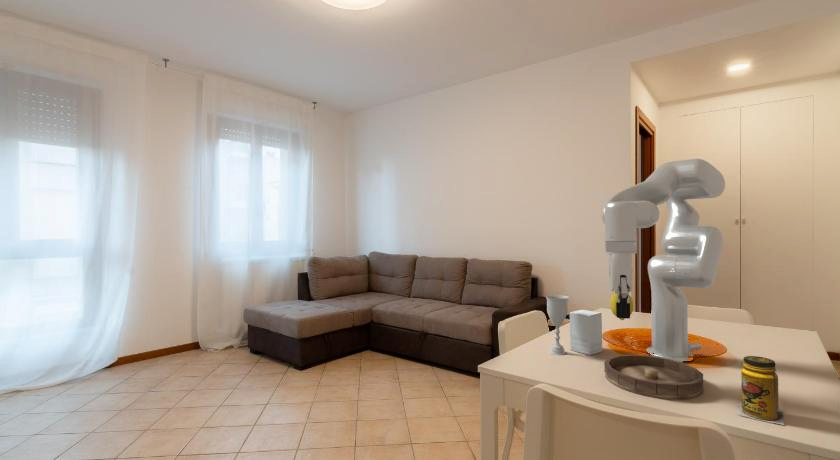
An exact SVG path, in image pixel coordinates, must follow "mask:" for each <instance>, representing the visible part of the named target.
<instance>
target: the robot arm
mask: <svg viewBox="0 0 840 460" xmlns="http://www.w3.org/2000/svg"><path fill="white" fill-rule="evenodd" d="M725 190H726V180H725V178H724V175H723V174H722V172H721V171H720V170H718V168H716V167H715V166H714V165H713V164H712V163H710V162H709V161H707V160H704V159H701V158H691V159H690V158H689V159H684V160H683V159H681V160H674V161H673V160H672V161H667V162H663V163H662V164H660V165H659V166H658V167H657V168H656V169H655V170H654V171H653V172H652V173H651V174H649V176H648V177H647V178H646V179H645V180H644V181H642V182H639V183H636V184H634V185H633V186H630V187H628V188H625V189H623V190H621V191H619V192H617V193H615V194H614V195H612V197H611V198H609V200H608V201H607V202H606V203H605V204H604V206H603V208H602V211H601V220H602V222H603V224H604V238H605V240H604V241H605V242H604V243H605V245H604V247H605V248H604V250H605V254H608V255H609V257H608V258H609V259H608V269H609V270H608V272H609V273H608V276H609V277H608V278H609V280H608V281H609V282H608V286H609V289H610V291H612V292H614V294H615V293H617V302H616V316H615V317H616V318H617V319H619V318H625V319H627V320H629V319H631V315H630V303H629V295H630V292H632V291H633V255H635V254H636V255H637V254H638V244H637V243H638V241H637V240H638V238H637V237H638V236H637V235H638V234H637V229H646V228H647V229H648V228H650V227H653V226H654V225H656V224H657V223H658V222H659V219H660V211H659V210H660V209H659V207H658V206H661V205H663V204H665V205H666V208H667V213H668V216H667V219H666V223H665V227H664V231H663V232H662V233H663V234H662V237H661V245H660V246H661V249H662V251H663V252H664V253H666V254H664V253H662V254H661V253H660V254H657V255H654V256H652V257H651V258H650V259H649V260H648V263H647V274H648V278H649V282H650V290H651V292H650V293H651V295H650V296H651V346H649V347H646V351H647V352H648V353H650V354H651V355H652V356H654V357H661V358H666V359H670V360H675V361H680V362H682V363H684V362H683V361H688V359H689V358H687V357H688V356H694V357H695V355H694V353H692V351H698V350H702V344H701V343H699V342H697V343H696V342H695V343H691V342H689V341H688V340H689V339H688V338H689V336H688V335H689V334H688V332H689V329H688V327H689V326H688V325H689V324H688V323H689V322H688V318H689V317H688V315H689V314H688V311H689V310H688V308H689V307H688V306H689V305H688V303H689V302H688V298H687V296H686V295H685V293H684V291H683V290H682V289H681V288H680V287H684V288H695V289H708V288H710V287H712V286H713V284H714V283H715V281H716V277H717V273H718V268H719V265H720V260H721V257H722V251H723V245H724V239H723V234H722V232H721V230H720V229H719V228H717V226H716V227H715V226H713V225H702V224H701V225H699V221H700V214H699V212H698V211H697V210H696V208H694V206H693V205H691V204H690V203H689V202H688V201H687V200H702V199H715V198H718V197H720V196H722V195H723V193H724V191H725ZM619 293H621V294H620V295H619ZM646 351H645V352H646ZM653 353H654V354H653Z"/></svg>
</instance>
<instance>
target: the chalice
mask: <svg viewBox="0 0 840 460" xmlns="http://www.w3.org/2000/svg"><path fill="white" fill-rule="evenodd" d="M544 297H545V298H546V312H547V315H548V317H549V319H550V321H551V324H552V325H553V326H555V330H554V334H555V336H554V338H555V343H554V344H552V345H551V347H550V350H549V354H552V355H557V356H562V355H566V351H565V347H564V346H563V345H562V344H561V343H560V339H561V336H560V332H561V331H560V326H562V325H563V324H564V321H565V320H566V318H567V315H568V300H569V298H570V297H569V296H567V295H562V294H549V295H548V294H547V295H545V296H544Z"/></svg>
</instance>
